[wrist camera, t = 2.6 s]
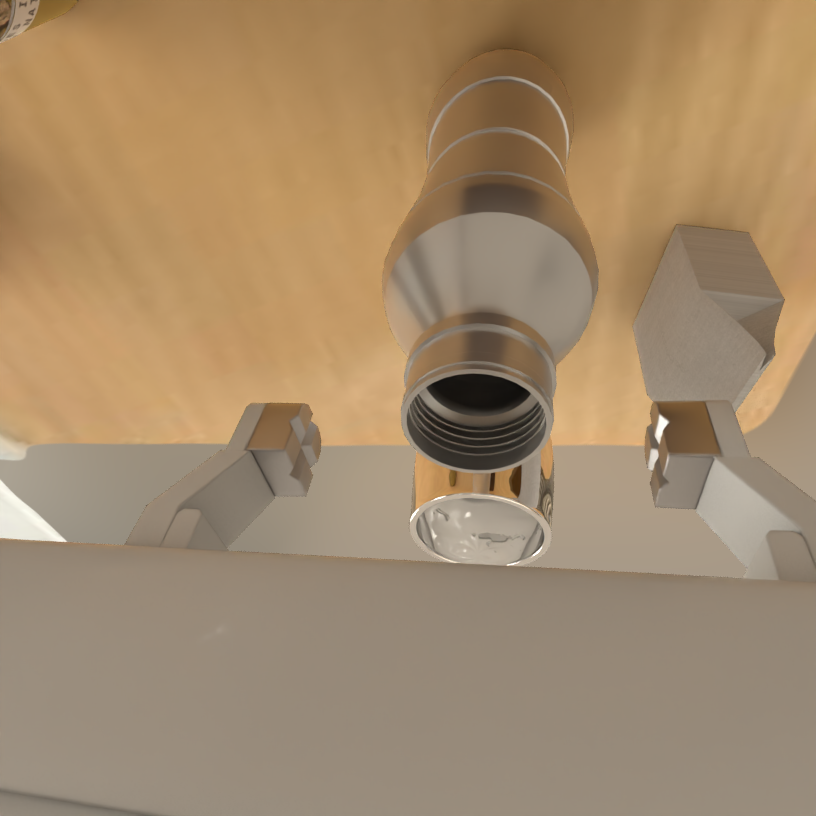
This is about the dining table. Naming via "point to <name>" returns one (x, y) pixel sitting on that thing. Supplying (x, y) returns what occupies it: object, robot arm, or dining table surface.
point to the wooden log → (29, 14)
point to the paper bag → (707, 318)
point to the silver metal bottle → (490, 267)
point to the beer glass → (484, 512)
